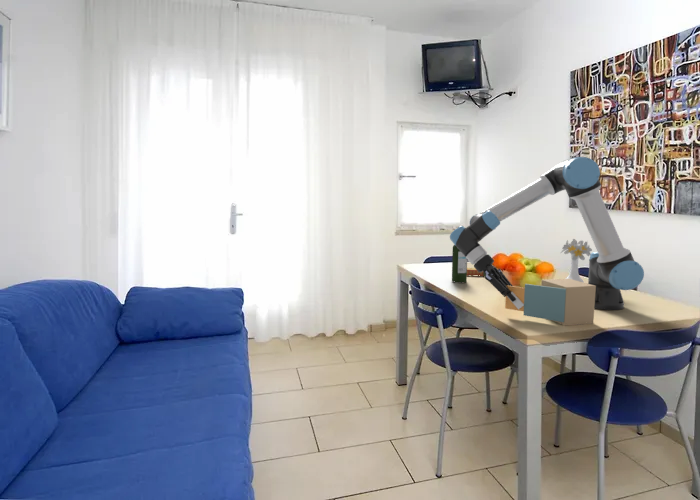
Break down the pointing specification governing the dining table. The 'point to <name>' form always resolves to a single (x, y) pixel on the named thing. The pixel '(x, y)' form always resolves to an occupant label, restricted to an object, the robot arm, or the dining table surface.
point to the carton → (474, 272)
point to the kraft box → (575, 300)
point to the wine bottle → (459, 266)
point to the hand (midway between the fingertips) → (522, 306)
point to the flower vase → (576, 257)
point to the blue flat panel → (539, 301)
